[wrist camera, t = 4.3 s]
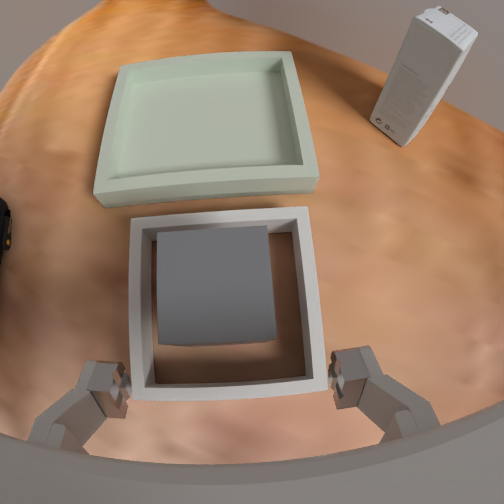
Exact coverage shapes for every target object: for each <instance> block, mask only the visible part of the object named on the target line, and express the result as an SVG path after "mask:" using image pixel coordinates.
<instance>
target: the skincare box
mask: <svg viewBox="0 0 504 504" xmlns="http://www.w3.org/2000/svg"><path fill="white" fill-rule="evenodd" d="M477 35H478V33H477V32H476V31H475V30H474V29H472V28H471V27H470V26H469V25H467V24H466V23H464V22H463V21H461V20H460V19H458V18H457V17H455V16H454V15H452V14H451V13H449V12H448V11H446V10H445V9H443V8H441V7H440V6H436V7H434V8H432V9H426V10H424V12H423V13H421V14H419V15H417V16H415V17H414V18H413V20H412V22H411V24H410V27H409V29H408V31H407V34H406V36H405V38H404V41H403V44H402V46H401V48H400V51H399V53H398V55H397V58H396V60H395V63H394V65H393V67H392V69H391V72H390V74H389V76H388V78H387V81H386V83H385V85H384V87H383V90H382V92H381V94H380V96H379V98H378V101H377V103H376V105H375V107H374V110H373V112H372V114H371V116H370V121H371V122H372V123H373V124H374V125H375V126H376V127H378V128H379V129H380V130H381V131H382V132H384V133H385V134H386V135H387V136H389V137H390V138H391V139H392V140H394V141H395V142H396V143H397V144H399V145H400V146H401V147H404V146H406V145H407V144H408V143H409V142H410V141H411V140H412V139H413V138H414V137H415V136H416V135H417V133H418V132H419V131H420V130H421V128H422V127H423V126H424V124H425V123H426V121H427V120H428V118H429V117H430V115H431V114H432V112H433V111H434V109H435V107H436V106H437V104H438V103H439V101H440V99H441V98H442V96H443V95H444V93H445V91H446V90H447V88H448V87H449V85H450V83H451V81H452V80H453V78H454V76H455V74H456V73H457V71H458V69H459V68H460V66H461V64H462V63H463V61H464V59H465V57H466V56H467V54H468V52H469V50H470V48H471V46H472V44H473V42H474V41H475V39H476V37H477Z"/></svg>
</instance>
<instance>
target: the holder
mask: <svg viewBox="0 0 504 504" xmlns="http://www.w3.org/2000/svg"><path fill="white" fill-rule="evenodd" d="M263 225H267V229H268V233H282V232H292V240H293V248H294V257H295V266H296V275H297V284H298V294H299V304H300V314H301V325H302V336H303V347H304V359H305V372H306V376H299V377H290V378H280V379H269V380H257V381H243V382H226V383H199V384H155V374H154V358H153V338H152V304H151V253H152V241H157V233H158V232H171V231H185V230H199V229H214V228H230V227H246V226H263ZM129 346H130V366H131V382H132V394H133V400H150V401H209V400H233V399H249V398H262V397H274V396H284V395H293V394H302V393H309V392H317V391H324V390H328V387H327V374H326V361H325V349H324V338H323V328H322V318H321V308H320V299H319V290H318V282H317V273H316V265H315V257H314V250H313V242H312V235H311V228H310V221H309V214H308V207H307V206H305V207H283V208H263V209H246V210H229V211H214V212H200V213H187V214H174V215H162V216H150V217H139V218H131V229H130V250H129Z"/></svg>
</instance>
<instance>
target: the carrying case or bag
mask: <svg viewBox="0 0 504 504" xmlns="http://www.w3.org/2000/svg"><path fill="white" fill-rule="evenodd" d="M10 217H11V215H10V210H9V209H8V206H7V203H6V202H5V201H4V200H3V199H2V198H0V264H1V259H2V254H3V249H5V250H9V249H10V246H11V224H12V219H11V218H10Z"/></svg>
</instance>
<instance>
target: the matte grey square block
mask: <svg viewBox="0 0 504 504" xmlns="http://www.w3.org/2000/svg"><path fill="white" fill-rule="evenodd" d="M157 321H158V344H162V345H174V346H187V347H194V346H218V345H236V344H251V343H265V342H268V341H271V340H274V339H277V330H276V318H275V307H274V295H273V283H272V272H271V261H270V250H269V239H268V229H267V225H263V226H246V227H230V228H214V229H199V230H185V231H171V232H158V233H157Z"/></svg>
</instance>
